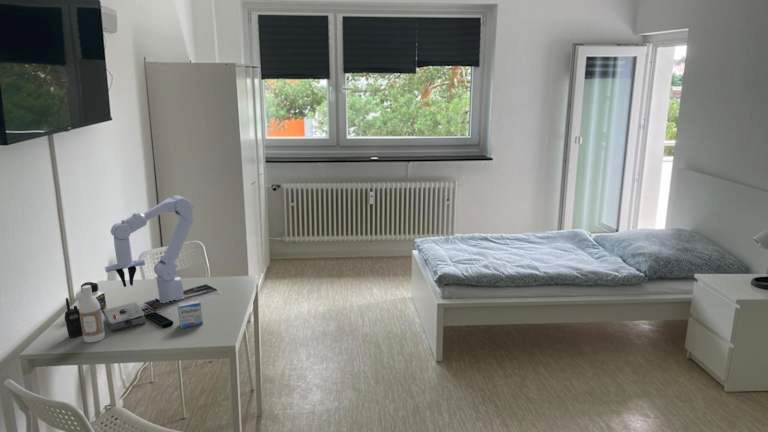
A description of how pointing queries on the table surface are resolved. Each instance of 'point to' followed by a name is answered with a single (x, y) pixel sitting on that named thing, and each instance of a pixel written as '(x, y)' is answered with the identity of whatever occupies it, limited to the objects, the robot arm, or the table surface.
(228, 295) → the table surface
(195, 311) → the medicine box
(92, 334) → the bath foam
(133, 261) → the robot arm
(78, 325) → the two-way radio
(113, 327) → the flat grey box
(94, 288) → the medicine bottle
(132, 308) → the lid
